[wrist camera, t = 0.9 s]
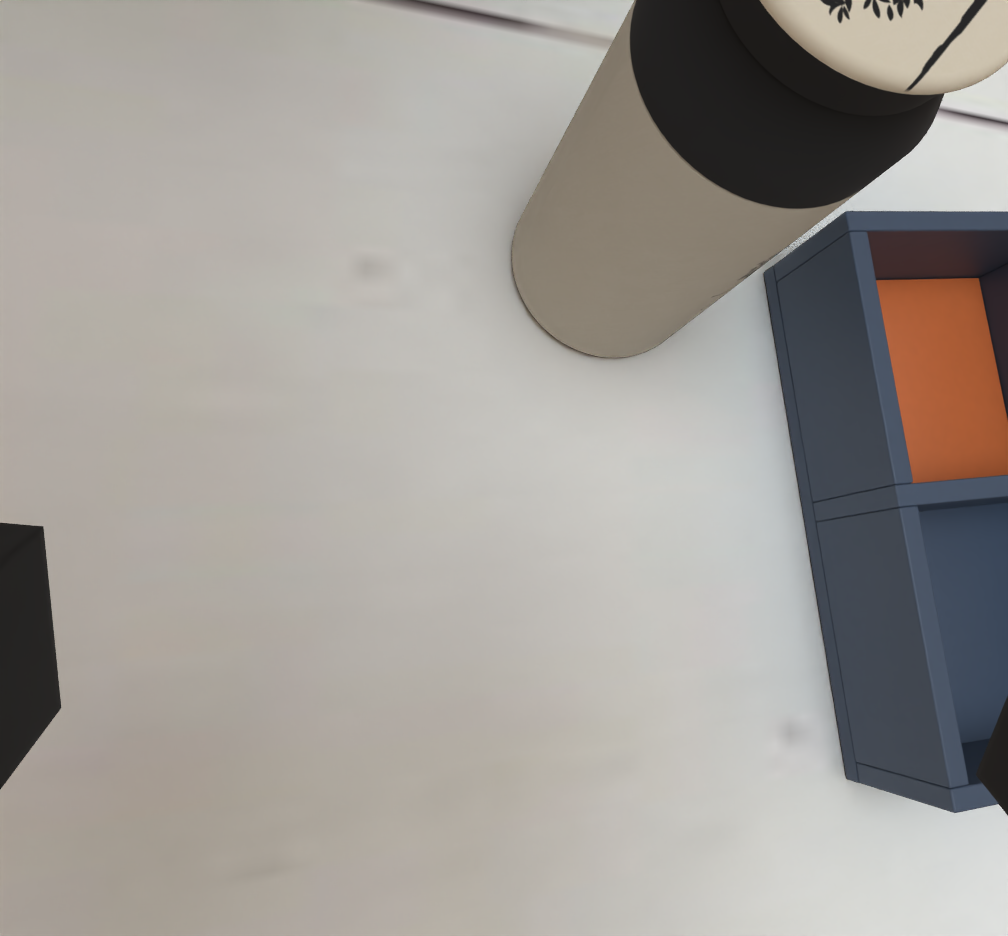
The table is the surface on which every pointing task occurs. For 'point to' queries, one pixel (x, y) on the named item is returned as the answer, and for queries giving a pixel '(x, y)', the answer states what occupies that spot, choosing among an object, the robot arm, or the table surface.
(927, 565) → the divided storage bin
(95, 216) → the table surface
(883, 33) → the travel mug
